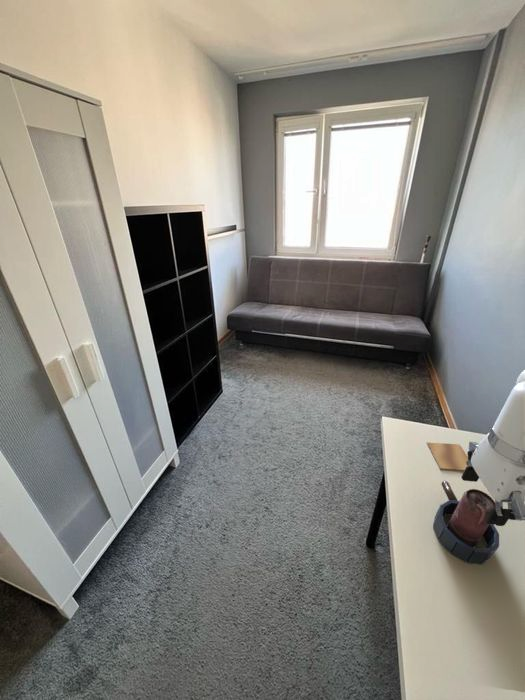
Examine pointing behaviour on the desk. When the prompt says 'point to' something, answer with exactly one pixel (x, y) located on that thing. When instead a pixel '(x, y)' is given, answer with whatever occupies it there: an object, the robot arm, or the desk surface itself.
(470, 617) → the desk surface
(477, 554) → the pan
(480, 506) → the can
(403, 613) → the desk surface
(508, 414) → the robot arm
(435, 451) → the coaster
